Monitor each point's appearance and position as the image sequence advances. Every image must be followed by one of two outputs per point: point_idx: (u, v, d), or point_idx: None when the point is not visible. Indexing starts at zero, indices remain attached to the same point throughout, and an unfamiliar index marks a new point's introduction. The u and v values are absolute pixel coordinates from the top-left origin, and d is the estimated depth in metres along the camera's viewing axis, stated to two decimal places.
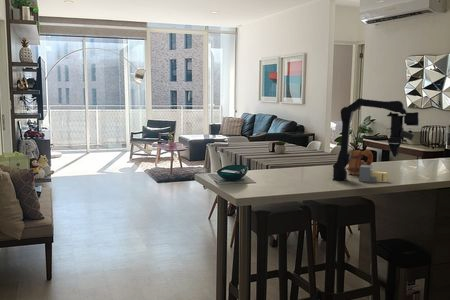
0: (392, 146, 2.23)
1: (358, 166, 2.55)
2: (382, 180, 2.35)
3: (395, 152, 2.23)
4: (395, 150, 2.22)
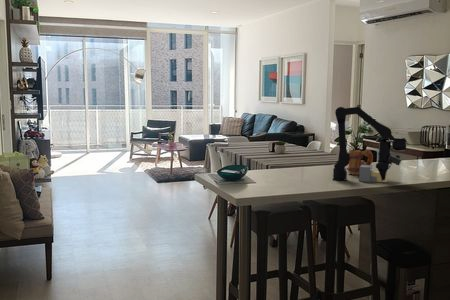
0: (381, 170, 2.33)
1: (358, 166, 2.55)
2: (382, 180, 2.35)
3: (384, 176, 2.33)
4: (384, 174, 2.33)
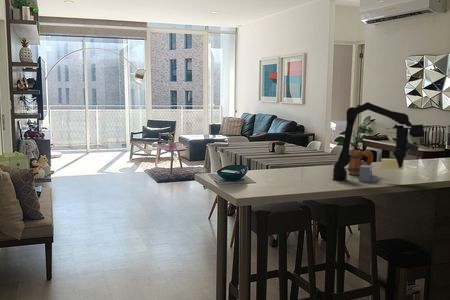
0: (398, 157, 2.29)
1: (358, 166, 2.55)
2: (399, 167, 2.31)
3: (401, 163, 2.29)
4: (401, 161, 2.29)
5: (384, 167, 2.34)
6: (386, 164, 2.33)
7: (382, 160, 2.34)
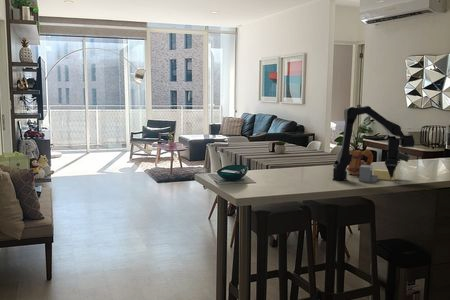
0: (389, 167, 2.36)
1: (358, 166, 2.55)
2: (390, 178, 2.41)
3: (392, 173, 2.36)
4: (392, 171, 2.36)
5: None
6: (378, 175, 2.43)
7: (374, 171, 2.44)
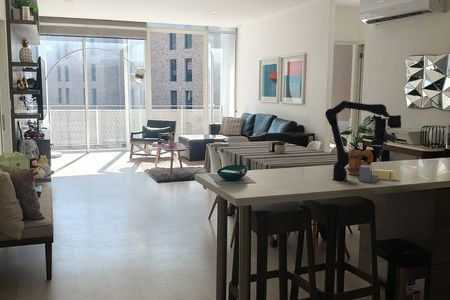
0: (375, 148, 2.28)
1: (358, 166, 2.55)
2: (390, 178, 2.41)
3: (378, 154, 2.28)
4: (378, 152, 2.28)
5: None
6: (378, 175, 2.43)
7: (374, 171, 2.44)
